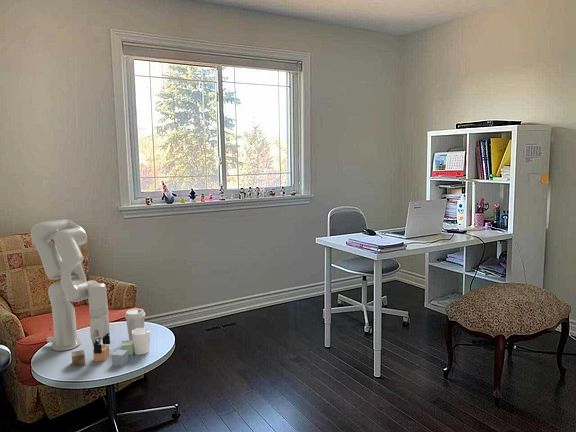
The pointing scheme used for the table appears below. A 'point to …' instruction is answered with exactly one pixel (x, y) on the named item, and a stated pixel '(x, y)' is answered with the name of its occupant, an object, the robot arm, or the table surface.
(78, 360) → the walnut block
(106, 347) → the terracotta block
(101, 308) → the robot arm
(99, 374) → the table surface
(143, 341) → the white cup
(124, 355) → the slate block
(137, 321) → the coffee cup
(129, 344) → the sage block
